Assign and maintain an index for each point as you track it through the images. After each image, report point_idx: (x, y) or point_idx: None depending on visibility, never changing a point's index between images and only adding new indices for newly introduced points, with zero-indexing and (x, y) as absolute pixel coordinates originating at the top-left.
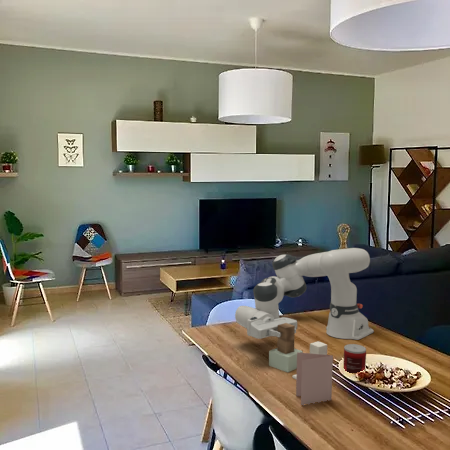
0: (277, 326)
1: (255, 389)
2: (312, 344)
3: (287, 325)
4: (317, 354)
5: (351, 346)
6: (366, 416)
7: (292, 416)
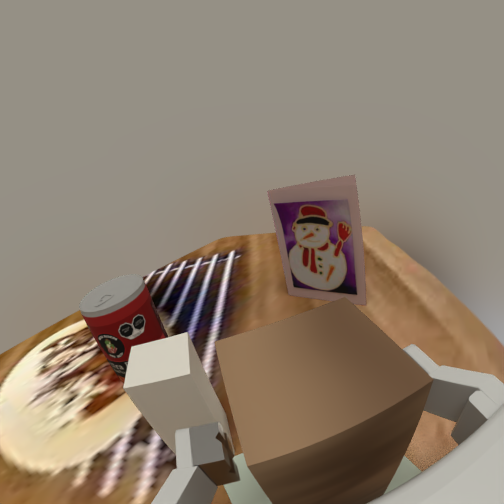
0: (410, 480)
1: (471, 324)
2: (187, 361)
3: (292, 359)
4: (302, 188)
5: (99, 307)
6: (261, 262)
7: (387, 257)
